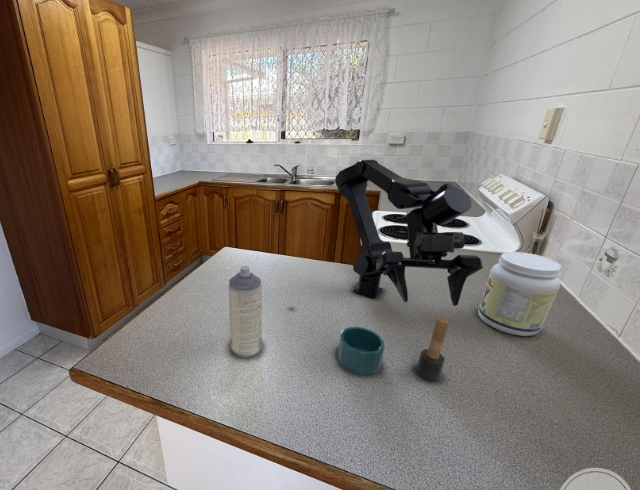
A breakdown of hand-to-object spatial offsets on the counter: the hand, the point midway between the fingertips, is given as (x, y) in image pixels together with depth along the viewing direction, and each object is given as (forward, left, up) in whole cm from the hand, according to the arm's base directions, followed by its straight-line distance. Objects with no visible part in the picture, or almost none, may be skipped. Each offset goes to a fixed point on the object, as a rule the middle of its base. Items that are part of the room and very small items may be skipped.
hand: (430, 303), depth 63 cm
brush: (+5, +3, -12) cm, 14 cm away
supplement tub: (-26, +14, -13) cm, 32 cm away
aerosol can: (+22, -30, -13) cm, 40 cm away
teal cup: (+10, -9, -12) cm, 19 cm away
